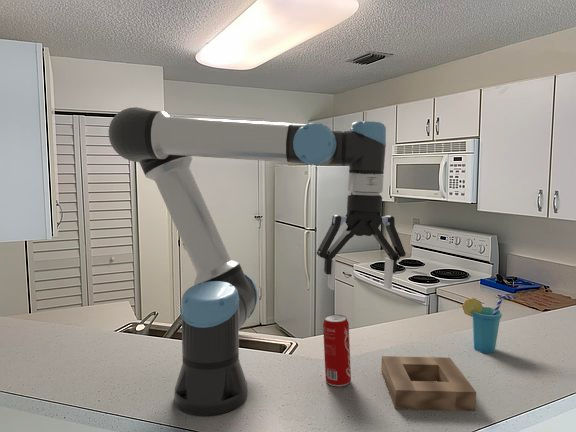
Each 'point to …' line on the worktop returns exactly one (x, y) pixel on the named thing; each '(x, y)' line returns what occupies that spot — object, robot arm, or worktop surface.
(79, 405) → the worktop surface
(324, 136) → the robot arm
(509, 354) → the worktop surface
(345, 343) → the beverage can
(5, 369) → the worktop surface
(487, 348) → the cup
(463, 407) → the socket
